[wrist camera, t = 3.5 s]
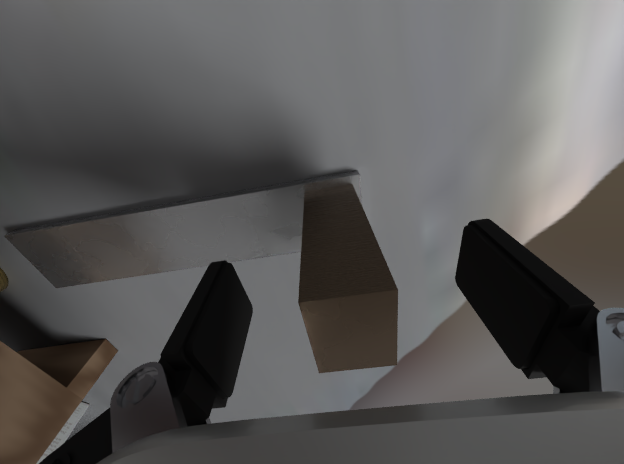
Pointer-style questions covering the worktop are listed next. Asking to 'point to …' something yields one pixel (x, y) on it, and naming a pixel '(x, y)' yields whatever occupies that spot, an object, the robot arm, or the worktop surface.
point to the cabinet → (44, 393)
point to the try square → (248, 256)
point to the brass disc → (3, 280)
